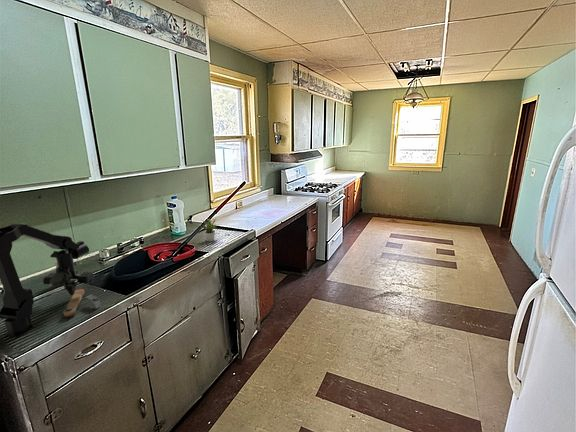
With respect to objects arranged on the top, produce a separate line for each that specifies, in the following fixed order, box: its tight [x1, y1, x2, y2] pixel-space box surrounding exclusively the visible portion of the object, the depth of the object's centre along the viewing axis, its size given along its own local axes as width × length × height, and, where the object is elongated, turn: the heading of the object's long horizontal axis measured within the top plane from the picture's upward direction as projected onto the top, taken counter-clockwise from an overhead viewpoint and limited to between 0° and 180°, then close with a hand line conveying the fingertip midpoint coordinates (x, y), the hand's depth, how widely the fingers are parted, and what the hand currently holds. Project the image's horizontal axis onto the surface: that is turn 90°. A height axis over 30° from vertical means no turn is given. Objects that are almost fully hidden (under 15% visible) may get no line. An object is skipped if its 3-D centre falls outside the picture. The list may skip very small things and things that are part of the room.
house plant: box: [199, 217, 218, 242], centre depth 209 cm, size 14×14×16 cm
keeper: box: [85, 294, 101, 310], centre depth 130 cm, size 2×7×4 cm, turn 58°
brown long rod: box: [62, 288, 85, 318], centre depth 130 cm, size 20×4×3 cm, turn 22°
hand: (72, 295), depth 135 cm, fingers closed
